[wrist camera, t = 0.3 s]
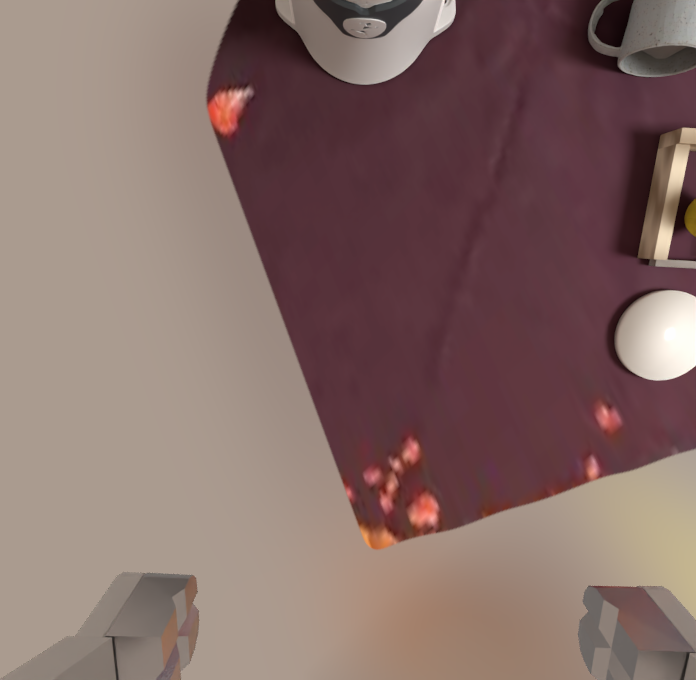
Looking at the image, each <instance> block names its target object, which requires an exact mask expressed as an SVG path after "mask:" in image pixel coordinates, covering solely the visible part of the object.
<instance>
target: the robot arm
mask: <svg viewBox="0 0 696 680" xmlns="http://www.w3.org/2000/svg"><path fill="white" fill-rule="evenodd" d="M444 2H445V0H275V4H276V11H277V13H278V15H279V16H280V17H281V19H282V20H283V21H285V22H286V23H287V24H288V25H289V26H290V27H292V28H293V29H294V30H296V31H297V32H298V34H299V35H300V37H301V38H302V40H303V42H304V44H305V46H306V47H307V49H308V51H309V53H310V54H311V56H312V57H313V58H314V60H315V61H316V62H317V63H318V64H319V65H320V66H321V67H322V68H323V69H324V70H325V71H327V72H328V73H329V74H331V75H333V76H334V77H336V78H338V79H340V80H343V81H346V82H349V83H353V84H362V85H367V84H376V83H380V82H384V81H387V80H389V79H391V78H393V77H395V76H397V75H399V74H400V73H401V72H403V71H404V70H405V69H407V68H408V67H409V66H410V65H411V64H412V63H413V62H414V61H415V59H416V58H417V57H418V56H419V54H420V53H421V51H422V50H423V48H424V47H425V45H426V44H427V43H428V42H429V41H430V40H431V39H432V38H433V37H435V36H437V35H438V34H440V33H441V32H443V31H444V30H445V29H447V28H448V27H449V26H450V25H451V24H452V22H453V21H454V17H455V13H456V5H455V0H446V3H445V4H444ZM197 592H198V591H197V581H196V577H195V576H194V575H179V574H161V573H132V572H123V573H121V574H119V575H118V576H117V577H116V578H115V580H114V581H113V582H112V584H111V585H110V587H109V588H108V590H107V591H106V592H105V594H104V595H103V597H102V598H101V600H100V601H99V602H98V604H97V605H96V607H95V608H94V610H93V611H92V613H91V614H90V615H89V617H88V618H87V620H86V621H85V623H84V624H83V625H82V627H81V628H80V630H79V631H78V633H77V634H76V635H75V636H67V637H65V638H64V639H62V640H61V641H59V642H58V643H56V644H54V645H53V646H51V647H50V648H48V649H47V650H45V651H43V652H42V653H40V654H39V655H37V656H36V657H34V658H32V659H31V660H30V661H28V662H26V663H25V664H23V665H21V666H20V667H18V668H17V669H15V670H14V671H12V672H10V673H9V674H7V675H6V676H4V677H3V678H1V679H0V680H181V670H183V669H184V668H185V667H186V666H187V665H188V664H189V663H190V661H191V658H192V656H193V653H194V650H195V646H196V641H197V636H198V629H199V610H198V609H197V608H196V607H195V605H194V604H193V601H194V599H195V597H196V594H197ZM583 604H584V605H585V607H586V609H587V610H588V613H587V614H586V615H585V616H584V617H583V618H582V619H581V620H580V622H579V631H578V637H579V645H580V651H581V654H582V656H583V659H584V662H585V664H586V666H587V668H588V670H589V672H590V674H591V675H592V676H594V677H595V678H596V679H597V680H696V620H695V619H694V617H693V616H692V615H691V614H690V613H689V612H688V611H687V610H686V609H685V607H684V606H683V605H682V604H681V603H680V602H679V601H678V600H677V598H676V597H675V596H674V595H673V594H672V593H671V592H670V591H669V590H668V589H666V588H664V587H662V586H637V587H621V586H588V587H587V589H586V590H585V592H584V597H583Z"/></svg>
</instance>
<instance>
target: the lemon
mask: <svg viewBox="0 0 696 680" xmlns="http://www.w3.org/2000/svg"><path fill="white" fill-rule="evenodd" d="M685 225H686V228H687V229H688V231H689V232H690V233H691V234H692V235H694V236H695V237H696V199H695V200H693V201H692V202H691V204H690V205H689V206H688V208H687V210H686V212H685Z"/></svg>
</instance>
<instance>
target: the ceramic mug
mask: <svg viewBox="0 0 696 680" xmlns="http://www.w3.org/2000/svg"><path fill="white" fill-rule="evenodd" d="M614 1H618V0H602V1H601V2H600V3H599V4H598V5H597V6H596V8H595V10H594V11H593V14H592V16H591V18H590V22H589V27H588V39H589V42H590V44H591V45H592V47H593V48H594V49H595V50H596V51H597V52H599V53H602V54H605V55H608V56H614V57H618V67H619V69H620V70H622V71H623V72H625V73H628V74H631V75H635V76H642V77H659V76H669V75H676V74H678V73H682V72H686V71H688V70H691V69H693V68H695V67H696V0H634V1H633V4H632V8H631V12H630V15H629V21H628V25H627V28H626V31H625V34H624V38H623V42H622V45H621V47H613V46H609V45H606V44H604V43H602V42H601V41H600V40H599V39H598V38H597V36H596V35H595V34H594V32H595V29H596V26H597V23H598V20H599V18H600V17H601V16H602V14H603V9H604V8H605V7H606V6H607V5H609V4H610V3H612V2H614Z"/></svg>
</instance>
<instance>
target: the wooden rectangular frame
mask: <svg viewBox="0 0 696 680" xmlns="http://www.w3.org/2000/svg"><path fill="white" fill-rule="evenodd" d="M689 151H696V128H680V129H677V130H674V131H671V132H668V133H665V134H662V135H661V136H660V141H659V146H658V151H657V157H656V162H655V167H654V173H653V178H652V183H651V188H650V194H649V199H648V204H647V210H646V215H645V220H644V225H643V231H642V236H641V241H640V247H639V252H638V257H637V258H644V259H650V262H649V266H661V267H679V268H696V261H684V260H667V258H668V253H669V248H670V243H671V238H672V233H673V228H674V223H675V218H676V213H677V208H678V204H679V199H680V194H681V189H682V184H683V179H684V174H685V169H686V164H687V159H688V154H689Z"/></svg>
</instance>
